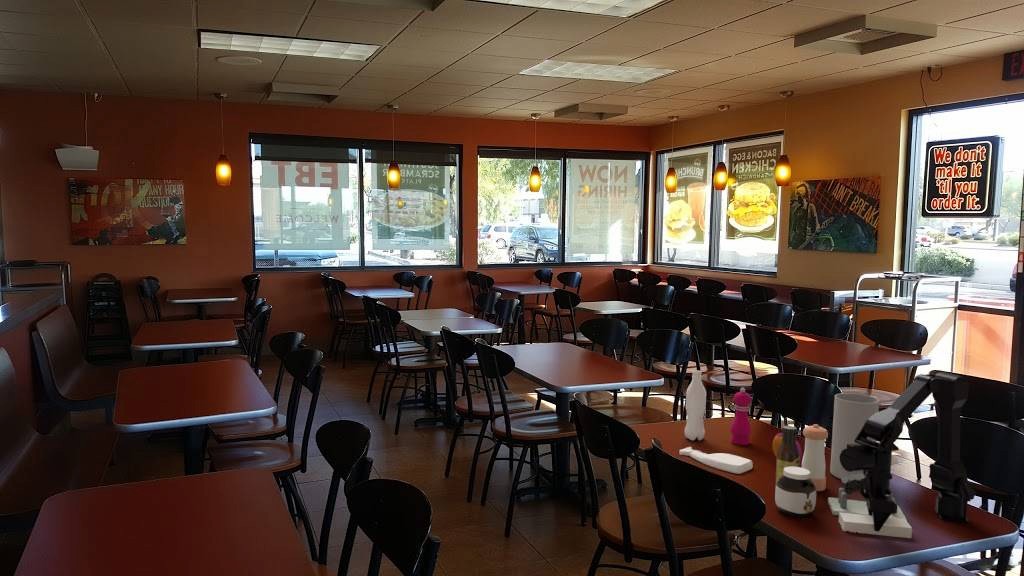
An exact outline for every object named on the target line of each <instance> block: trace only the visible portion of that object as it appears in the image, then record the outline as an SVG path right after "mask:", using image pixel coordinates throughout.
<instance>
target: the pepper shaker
mask: <svg viewBox="0 0 1024 576" xmlns="http://www.w3.org/2000/svg"><path fill="white" fill-rule="evenodd" d="M802 435H803V437H804V438H805V439H804V452H803V456H802V460H801V468H804V469H807V470H809V471H810V479H811V480H812V481H813V483H814V484H815V486H816V492H822V491H825V490H826V484H827V476H826V467H827V466H826V456H825V446H826V445H825V444H826V440H827V439H828V438H829V433H828V430H827V429H826V428H824V427H822V426H820V425H819V424H817V423H815V424H813V425H809V426H806V427H804V428H803V431H802Z"/></svg>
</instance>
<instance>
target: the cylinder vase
mask: <svg viewBox="0 0 1024 576" xmlns="http://www.w3.org/2000/svg"><path fill="white" fill-rule="evenodd" d="M879 407H880V399H878V398H877V397H875V396H870V395H868V394H867V395H865V394H860V393H852V392H851V393H850V392H849V393H848V392H847V393H845V392H842V393H837V394H835V395H834V402H833V421H832V438H831V449H830V450H831V453H830V456H831V457H830V467H829V471H830V474H831V475H832V476H833V477H836V478H837V479H840V480H841V477H843V476H848V475H852V474H859V473H863V470H860V471H852V472H849V471H846V470H845V469H844V468H843V467H842V465H841V463H840V458H839V457H840V454H841V452H842V450H844V449H847V444H858V443H856V442H854V440H855V439H856V437H857V435H858V434H859V432H860V431H861V429H862V427H863V426H864V424H865V422H866V421H867V419H869V418H870V417H871V416H873V415H874V414H875V413H877V412H880V411H879ZM866 439H869V440H871V441H874V442H877V441H875V440H873V439H870V438H868V437H867V438H866Z"/></svg>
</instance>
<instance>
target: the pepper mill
mask: <svg viewBox="0 0 1024 576" xmlns="http://www.w3.org/2000/svg"><path fill="white" fill-rule="evenodd" d="M739 390H740V391H738V392H736V393H735V394H734V396H733V402H734V403H735V404H734V409H735V415H734V419H733V421H732V423H731V425H730V431H729V432H730V433H731V435H732V436H731V443H733V444H734V443H735V445H738V444H739V446H747V445H749V444H750V443H751V442H750V435H752V426H751V424H750V420H749V415H748V414H749V413H748V412H749V411H750V405H751V402H752V397H751V395H750V394H749V393H748V392H747V391H746V388H745V387H741V388H740V389H739Z"/></svg>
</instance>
